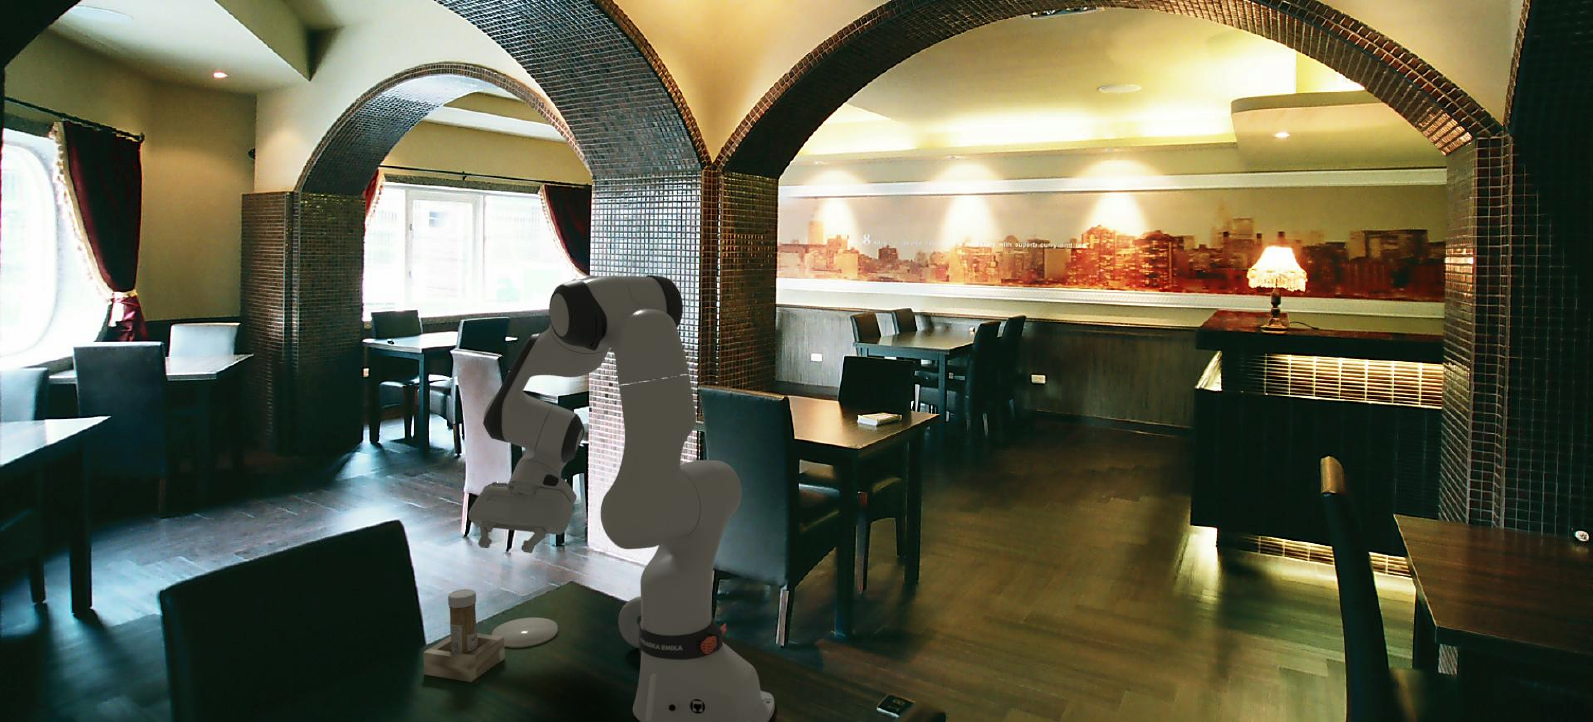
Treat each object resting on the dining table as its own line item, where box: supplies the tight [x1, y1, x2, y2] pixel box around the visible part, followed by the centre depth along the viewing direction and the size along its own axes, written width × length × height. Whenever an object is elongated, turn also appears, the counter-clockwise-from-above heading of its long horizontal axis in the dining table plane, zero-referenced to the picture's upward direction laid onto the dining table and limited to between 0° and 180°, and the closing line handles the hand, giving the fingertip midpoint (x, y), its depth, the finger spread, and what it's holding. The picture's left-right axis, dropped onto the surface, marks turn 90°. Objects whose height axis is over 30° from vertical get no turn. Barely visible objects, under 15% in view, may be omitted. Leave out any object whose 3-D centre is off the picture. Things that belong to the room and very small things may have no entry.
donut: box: [617, 595, 641, 649], centre depth 167 cm, size 10×3×10 cm, turn 82°
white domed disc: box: [491, 617, 559, 648], centre depth 174 cm, size 12×12×1 cm
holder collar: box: [422, 632, 506, 683], centre depth 160 cm, size 10×10×4 cm
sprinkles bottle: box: [447, 588, 478, 655], centre depth 160 cm, size 5×5×14 cm
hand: (504, 549), depth 170 cm, fingers open, 8 cm apart
